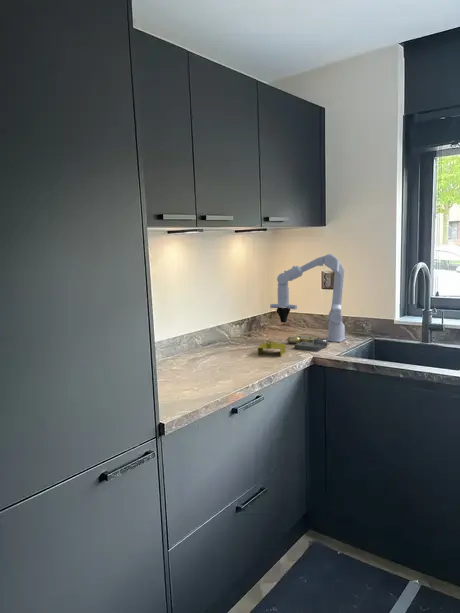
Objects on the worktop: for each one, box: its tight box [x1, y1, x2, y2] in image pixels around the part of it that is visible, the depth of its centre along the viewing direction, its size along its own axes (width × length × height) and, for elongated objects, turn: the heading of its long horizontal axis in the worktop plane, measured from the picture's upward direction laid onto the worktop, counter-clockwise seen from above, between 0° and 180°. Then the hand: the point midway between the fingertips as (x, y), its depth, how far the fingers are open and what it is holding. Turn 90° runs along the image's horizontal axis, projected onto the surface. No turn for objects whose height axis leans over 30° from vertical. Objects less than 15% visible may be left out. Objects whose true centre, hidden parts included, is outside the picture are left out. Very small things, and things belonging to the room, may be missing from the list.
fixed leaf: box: [294, 338, 330, 352], centre depth 219 cm, size 13×12×3 cm
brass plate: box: [286, 334, 320, 345], centre depth 231 cm, size 13×12×3 cm
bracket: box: [257, 340, 286, 357], centre depth 212 cm, size 16×8×15 cm
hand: (283, 322), depth 238 cm, fingers closed
